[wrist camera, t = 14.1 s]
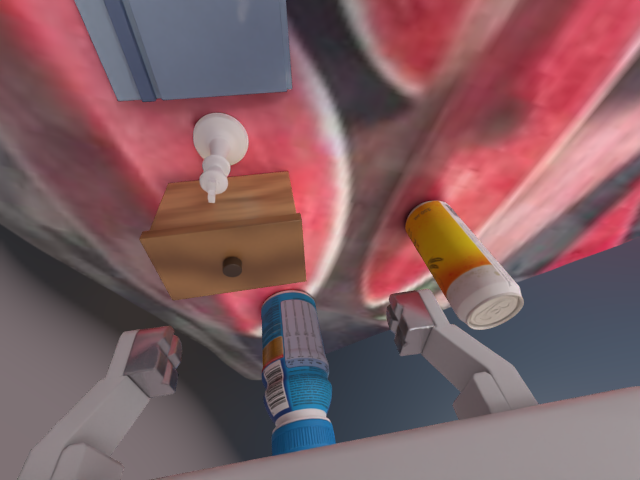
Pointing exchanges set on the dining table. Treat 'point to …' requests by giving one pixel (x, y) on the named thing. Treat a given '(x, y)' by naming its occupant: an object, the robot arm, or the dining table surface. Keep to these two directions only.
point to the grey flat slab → (190, 47)
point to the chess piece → (218, 150)
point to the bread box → (227, 237)
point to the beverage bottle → (295, 373)
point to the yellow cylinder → (463, 267)
